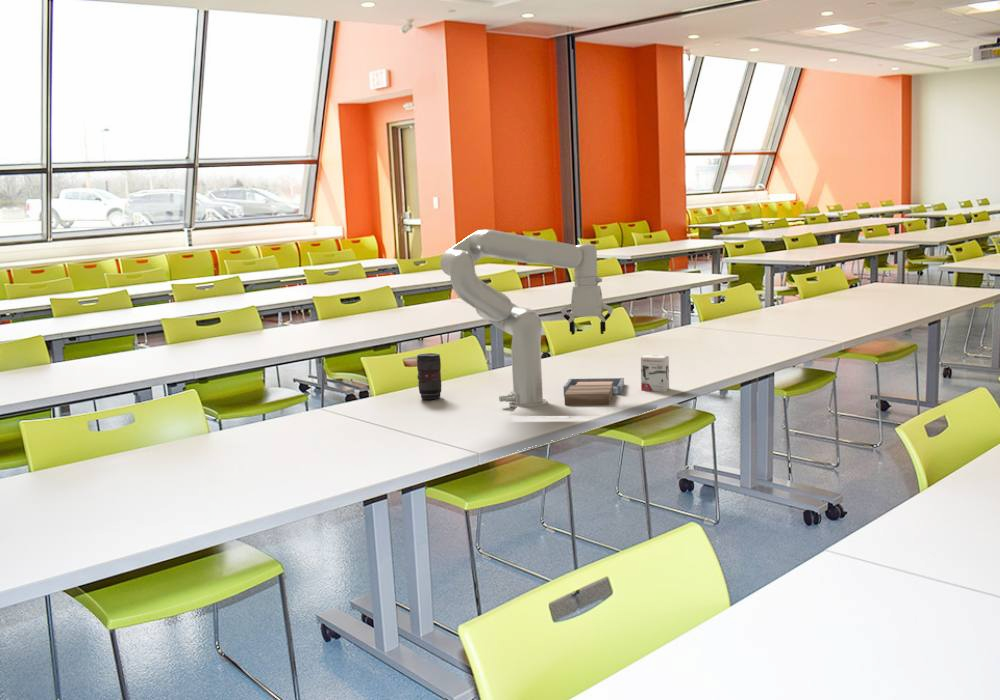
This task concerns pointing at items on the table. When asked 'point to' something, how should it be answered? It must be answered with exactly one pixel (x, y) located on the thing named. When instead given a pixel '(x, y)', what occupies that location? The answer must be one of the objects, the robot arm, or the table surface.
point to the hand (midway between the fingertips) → (587, 333)
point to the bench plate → (588, 395)
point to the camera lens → (429, 375)
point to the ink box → (655, 373)
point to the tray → (616, 381)
